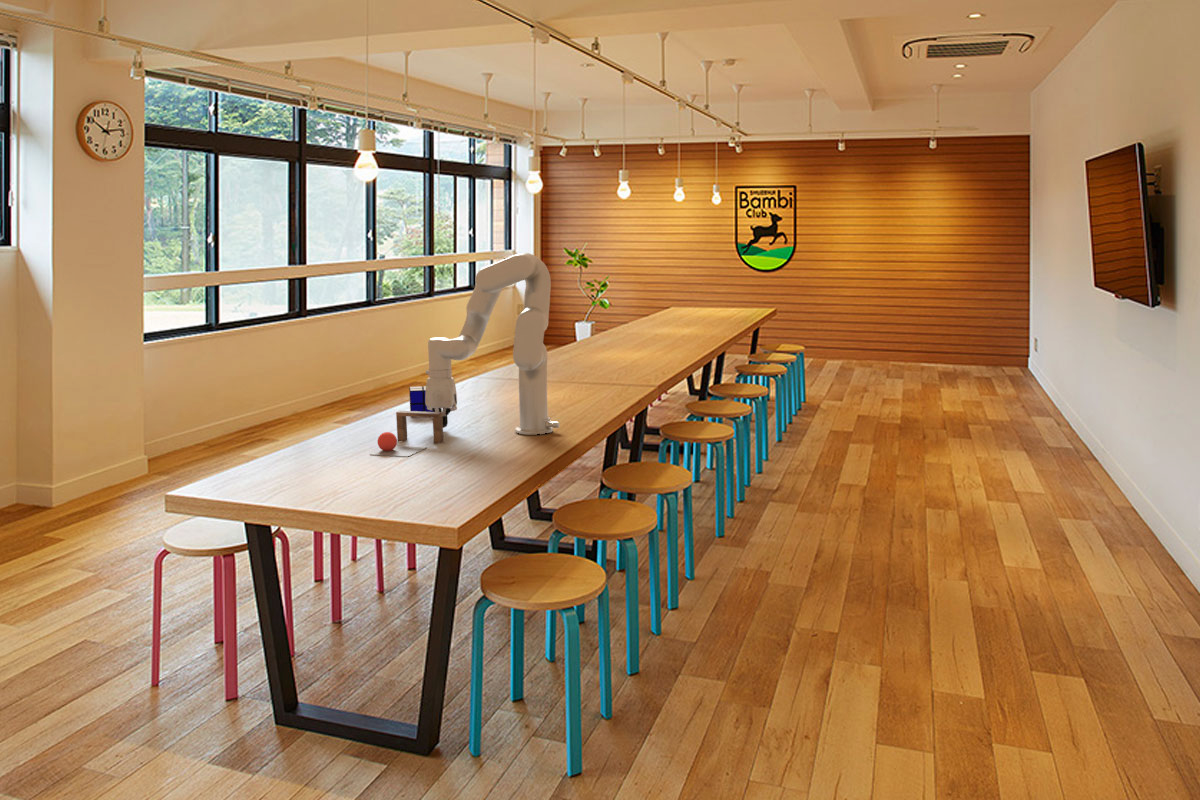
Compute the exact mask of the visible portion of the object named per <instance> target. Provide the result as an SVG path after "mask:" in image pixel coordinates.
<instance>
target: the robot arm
mask: <svg viewBox="0 0 1200 800" xmlns="http://www.w3.org/2000/svg"><path fill="white" fill-rule="evenodd" d="M522 281H524V282H525V288H524V300H523V308H522V312H520V313H519V315H518V316H517V318H516V321H515V329H514V338H513V339H514V340H513V350H512V358H513V361H514V363H515V365H516V367H518V399H519V400H518V401H519V402H518V403H519V404H518V405H519V406H518V407H519V411H518V412H519V426H516V427H515V428H514V429H515V430H514V431H515V433H517V434H518V433H519V434H520V435H525V436H538V435H537V434H540V435H545V433H547V434H550V433H552V432H553V429H559V428H560V422H559V421H552V420H551V416H550V417H549V414H548V413H549V412H548V350H547V347H546V345H545V344H544V337H545V331H546V330H547V329H548V326H549V315H550V314H549V313H550V304H551V301H550V300H551V290H552V289H551V287H552V284H551V283H552V282H551V281H552V280H551V275H550V271H549V269H548V267H547V265H546V264H545V262H544V261H542V259H540V258H539V257H537V256H536V255H534V254H532V253H529V252H522V253H521V252H520V253H516V254H514V255H512V256H509V257H507V258H505V259H501V260H500V261H498V262H497V261H496V262H494V263H492V264H490V265H487V266H484V267H481V268H480V269H479V270H478V271H477V273H476V275H475V287H474V289H473V290H472V293H471V295H470V298H469V299H468V301H467V304H466V309H465V310H466V317H465V321H464V323H463V326H462V329H461V330H460V333H459V335H458V337H455V338H450V339H449V338H448V337H445V336H444V337H441V336H440V337H439V336H438V337H431V338H429V339H428V342H427V349H428V352H427V353H428V370H427V369H426V371H425V374H426V375H428V377H427V378H426V385H425V386H426V393H425V403H426V406H427V409H428V410H431V411H433V412H442V419H443V429H444V428H447V427H448V423H449V422H448V416H449V414H450V413H451V412H455V411H457V410H458V407H457V405H458V394H457V387H456V382H455V378H454V377H453V374H452V373H453V371H452V370H453V369H452V360H454V361H464V360H466V359H468V358H469V357H471V356H472V355H474V353H475V352H476V351H477V349H478V347H479V345H480V342H481V340H482V338H483V336H484V334H485V331H486V329H487V325H488V323H489V321H490V319H491V318H490V317H491V315H492V313H493V311H494V308H495V306H496V304H497V301H498V299H499V297H500V295H501V293H502V290H503V289H505V288H506V287H507V288H508V287H509V286H512V285H515V284H516V283H519V282H522Z"/></svg>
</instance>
